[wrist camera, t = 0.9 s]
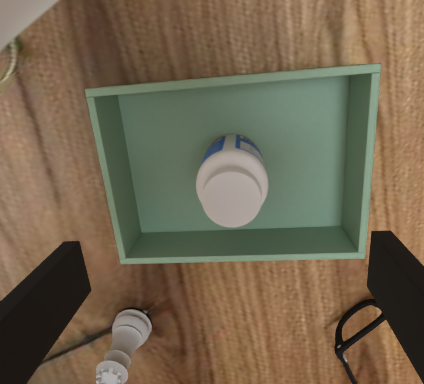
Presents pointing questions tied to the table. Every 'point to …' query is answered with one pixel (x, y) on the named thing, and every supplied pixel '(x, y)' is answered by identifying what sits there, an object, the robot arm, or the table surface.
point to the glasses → (343, 345)
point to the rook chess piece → (123, 346)
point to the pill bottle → (232, 181)
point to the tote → (271, 153)
